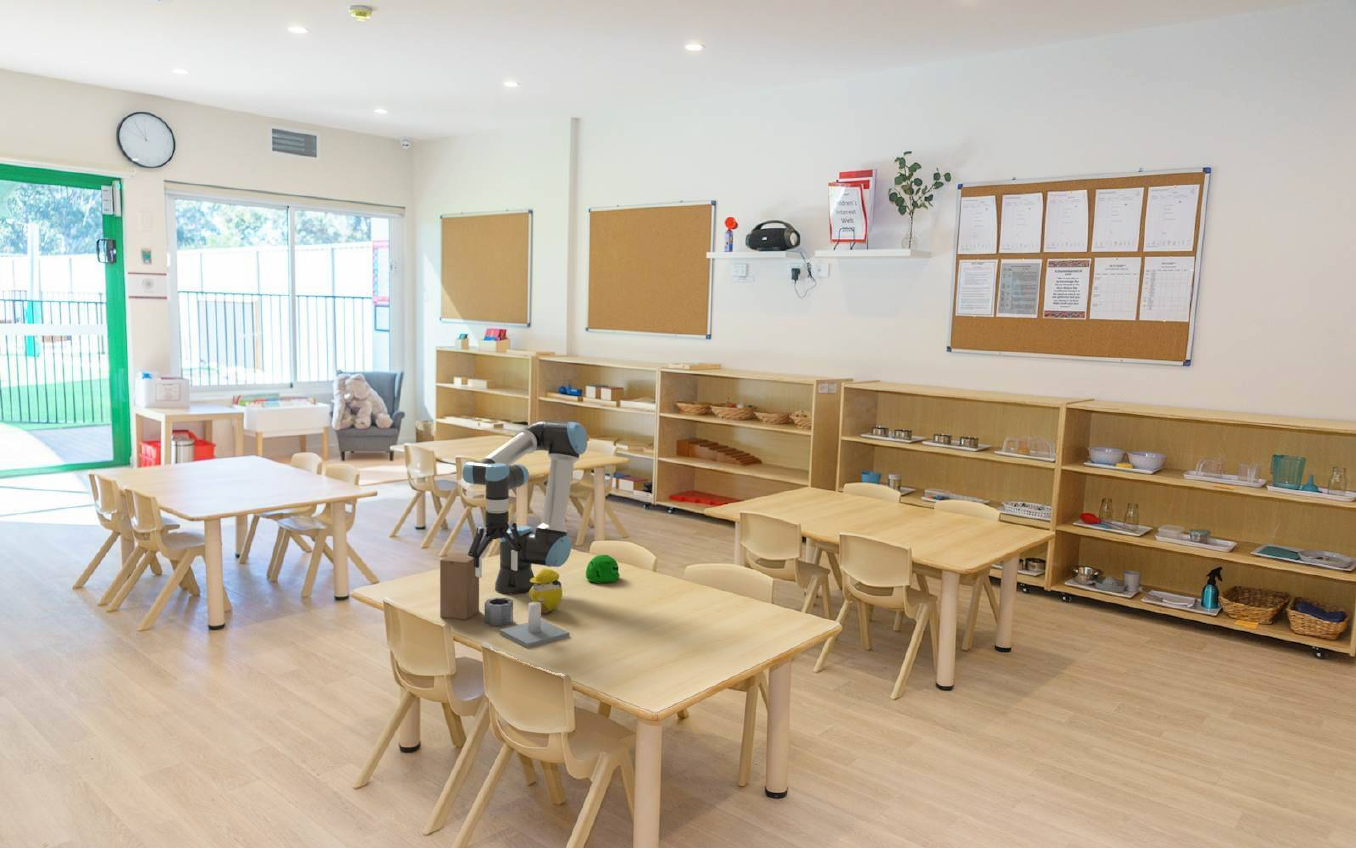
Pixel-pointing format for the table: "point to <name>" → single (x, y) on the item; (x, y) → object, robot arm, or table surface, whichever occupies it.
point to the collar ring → (498, 612)
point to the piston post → (534, 630)
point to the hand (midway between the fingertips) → (496, 573)
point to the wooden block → (458, 587)
